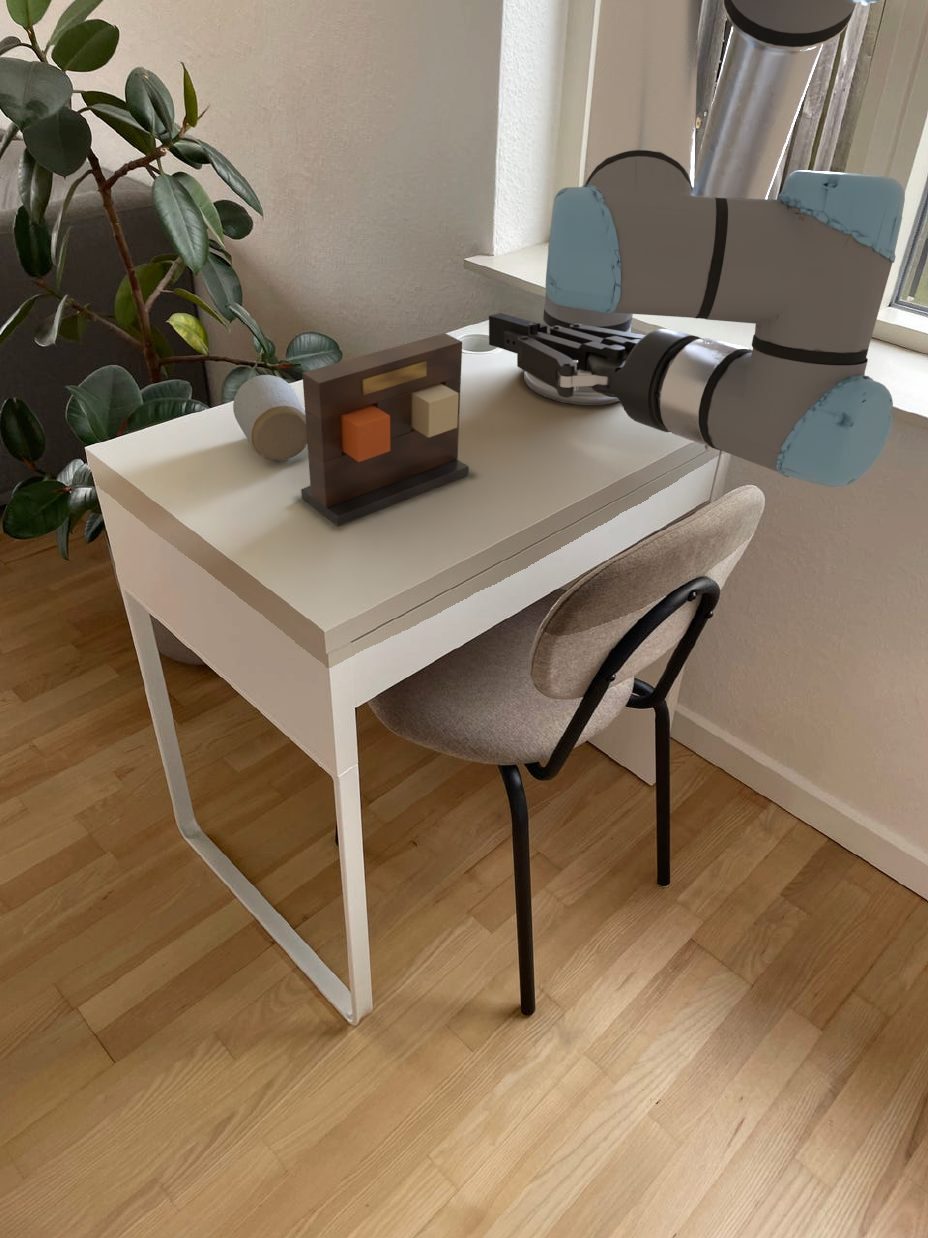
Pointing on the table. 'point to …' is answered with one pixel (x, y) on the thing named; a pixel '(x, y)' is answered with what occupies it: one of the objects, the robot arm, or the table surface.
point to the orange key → (365, 432)
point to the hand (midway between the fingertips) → (495, 328)
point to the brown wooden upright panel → (413, 456)
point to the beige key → (434, 409)
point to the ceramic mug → (271, 417)
